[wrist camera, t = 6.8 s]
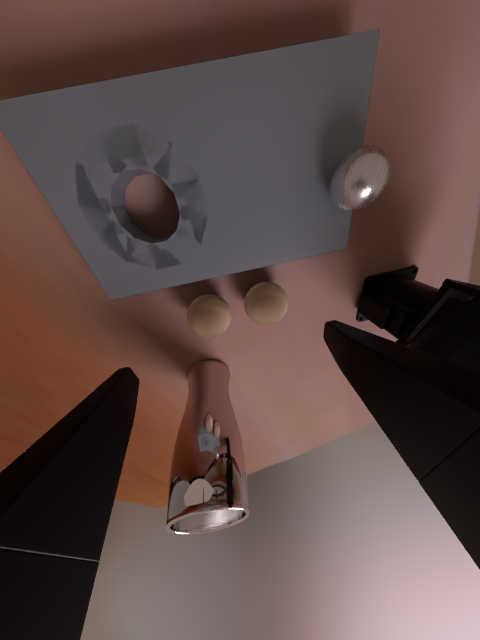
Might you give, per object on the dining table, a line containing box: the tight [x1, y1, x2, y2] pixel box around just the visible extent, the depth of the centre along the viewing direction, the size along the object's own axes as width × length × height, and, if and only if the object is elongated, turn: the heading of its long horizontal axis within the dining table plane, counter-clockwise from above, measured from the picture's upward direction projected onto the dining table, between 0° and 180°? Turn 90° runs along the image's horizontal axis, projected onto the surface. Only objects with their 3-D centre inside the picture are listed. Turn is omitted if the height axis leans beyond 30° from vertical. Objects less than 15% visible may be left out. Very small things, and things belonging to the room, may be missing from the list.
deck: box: [0, 29, 380, 300], centre depth 14 cm, size 22×12×2 cm, turn 100°
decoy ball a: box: [244, 282, 288, 325], centre depth 19 cm, size 4×4×4 cm
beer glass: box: [166, 360, 250, 535], centre depth 21 cm, size 7×7×15 cm
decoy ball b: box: [187, 294, 231, 338], centre depth 19 cm, size 4×4×4 cm
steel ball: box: [330, 146, 391, 210], centre depth 13 cm, size 4×4×4 cm
